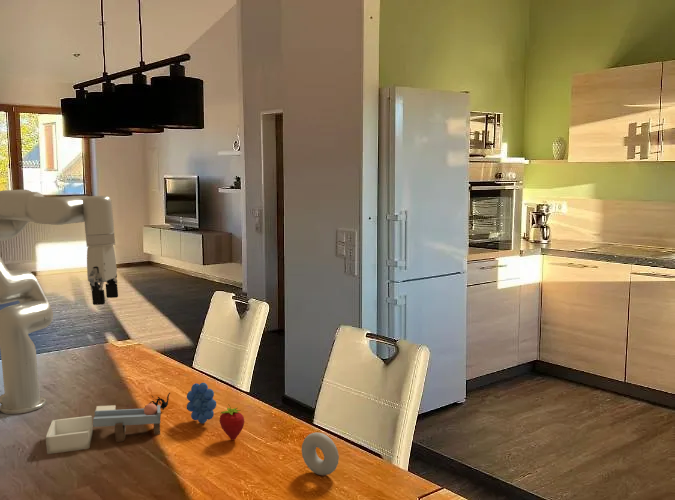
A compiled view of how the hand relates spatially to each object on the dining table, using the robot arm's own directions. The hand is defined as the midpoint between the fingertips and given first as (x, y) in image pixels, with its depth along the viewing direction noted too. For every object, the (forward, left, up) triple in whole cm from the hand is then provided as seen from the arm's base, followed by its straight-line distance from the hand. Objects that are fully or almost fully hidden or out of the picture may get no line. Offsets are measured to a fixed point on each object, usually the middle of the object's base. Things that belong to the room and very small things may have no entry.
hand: (105, 300), depth 183 cm
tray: (-10, -13, -35) cm, 38 cm away
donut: (+48, -52, -35) cm, 79 cm away
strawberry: (+31, -26, -35) cm, 53 cm away
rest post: (+12, -13, -35) cm, 39 cm away
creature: (+12, +3, -35) cm, 37 cm away
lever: (+4, -10, -31) cm, 33 cm away
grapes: (+25, -11, -35) cm, 44 cm away
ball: (+10, -13, -29) cm, 33 cm away
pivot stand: (+2, -13, -35) cm, 37 cm away
